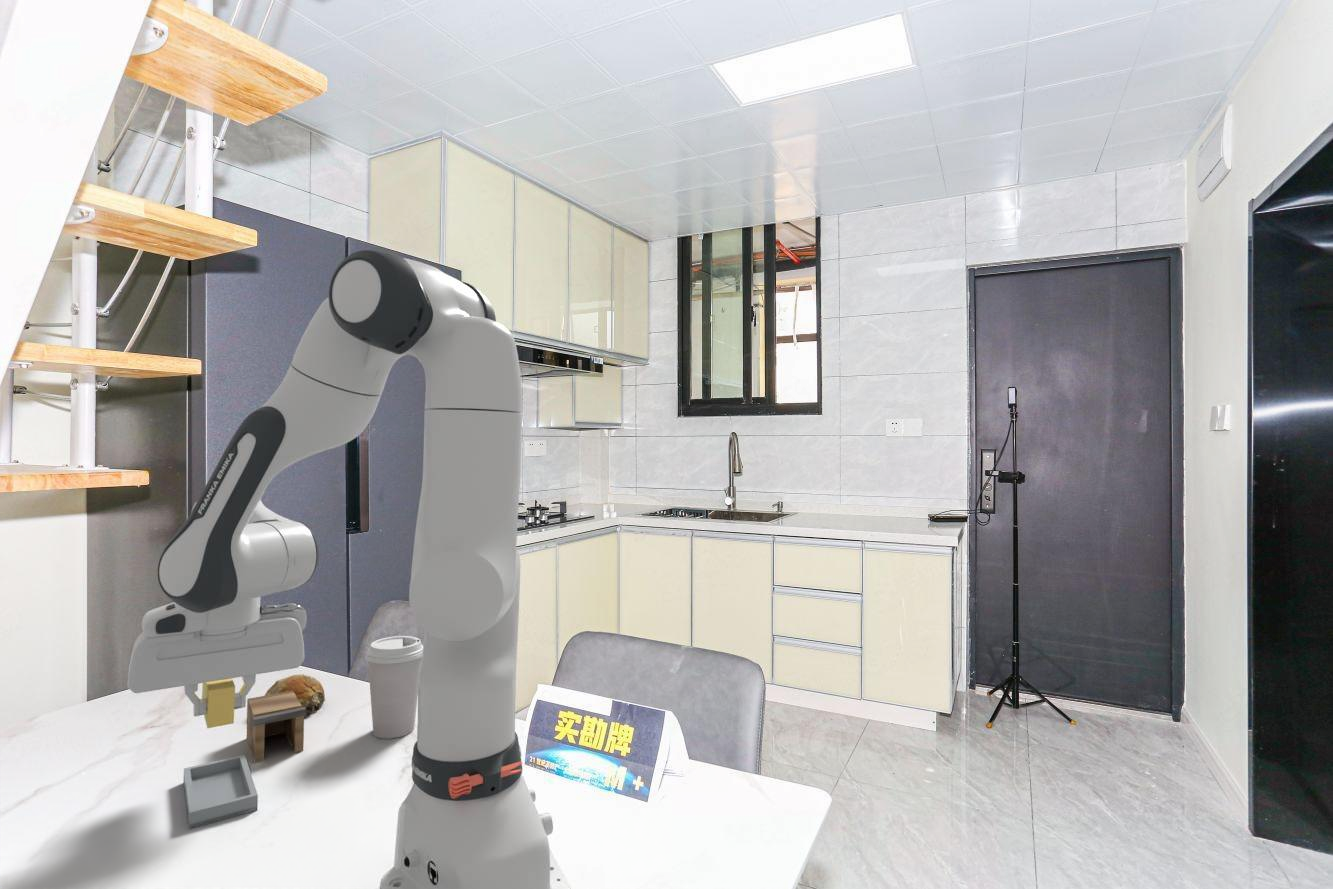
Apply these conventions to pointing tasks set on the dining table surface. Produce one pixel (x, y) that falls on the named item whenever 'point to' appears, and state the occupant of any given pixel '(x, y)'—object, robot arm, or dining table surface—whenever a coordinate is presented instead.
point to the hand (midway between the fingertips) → (219, 710)
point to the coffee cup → (394, 684)
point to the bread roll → (302, 691)
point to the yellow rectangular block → (219, 702)
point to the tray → (219, 791)
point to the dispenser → (274, 721)
